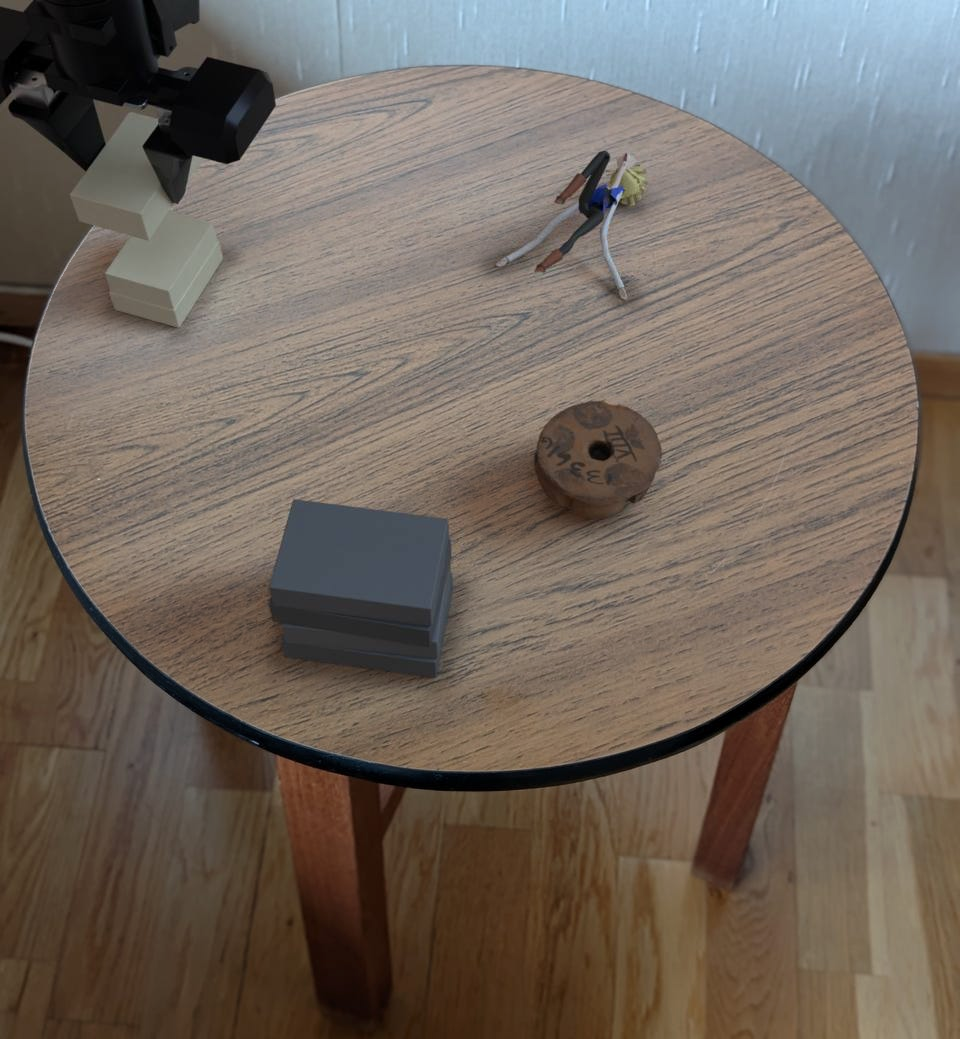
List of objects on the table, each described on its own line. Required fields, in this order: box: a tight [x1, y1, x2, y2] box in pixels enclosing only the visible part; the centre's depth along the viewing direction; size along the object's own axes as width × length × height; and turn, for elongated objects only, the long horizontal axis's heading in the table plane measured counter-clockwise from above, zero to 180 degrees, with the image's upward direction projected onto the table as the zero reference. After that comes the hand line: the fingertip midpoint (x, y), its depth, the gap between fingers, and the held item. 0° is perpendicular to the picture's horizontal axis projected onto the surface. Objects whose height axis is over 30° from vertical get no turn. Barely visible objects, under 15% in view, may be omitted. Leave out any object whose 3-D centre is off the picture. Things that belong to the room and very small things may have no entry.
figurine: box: [495, 150, 673, 301], centre depth 93 cm, size 10×9×20 cm
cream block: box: [69, 111, 205, 241], centre depth 86 cm, size 8×5×2 cm, turn 160°
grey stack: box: [268, 498, 454, 679], centre depth 76 cm, size 9×6×8 cm
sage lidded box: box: [104, 210, 224, 329], centre depth 92 cm, size 7×5×4 cm
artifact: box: [533, 400, 663, 521], centre depth 82 cm, size 8×8×5 cm
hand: (142, 189), depth 86 cm, fingers closed on cream block, 5 cm apart
